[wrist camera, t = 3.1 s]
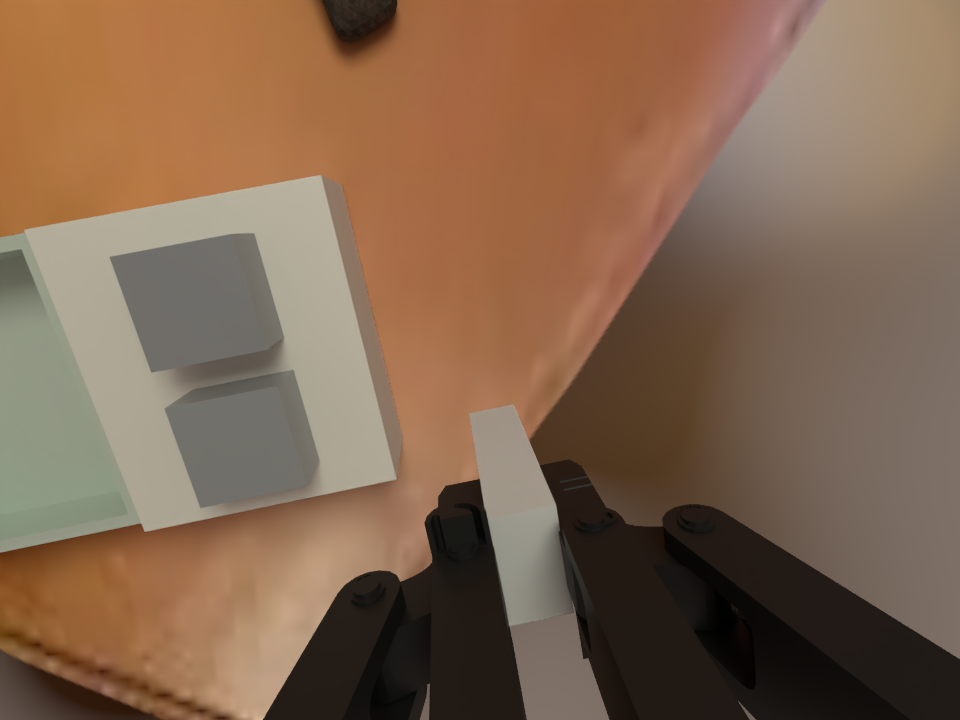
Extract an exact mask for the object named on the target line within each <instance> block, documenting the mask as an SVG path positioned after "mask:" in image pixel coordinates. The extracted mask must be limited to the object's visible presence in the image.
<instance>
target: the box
mask: <svg viewBox="0 0 960 720" xmlns="http://www.w3.org/2000/svg"><path fill="white" fill-rule="evenodd" d="M136 524H141V521H140V519H139V516H138V514H137V511H136V509H135V506H134V504H133V501H132V499H131V496H130V494H129V491H128V489H127V486H126V484H125V481H124V479H123V476H122V474H121V471H120V469H119V466H118V464H117V461H116V459H115V456H114V454H113V451H112V449H111V446H110V444H109V441H108V439H107V436H106V434H105V431H104V429H103V426H102V424H101V421H100V419H99V416H98V414H97V411H96V409H95V406H94V404H93V401H92V399H91V396H90V394H89V391H88V389H87V386H86V384H85V381H84V379H83V376H82V374H81V371H80V369H79V366H78V364H77V361H76V359H75V356H74V354H73V351H72V349H71V346H70V344H69V341H68V339H67V336H66V334H65V331H64V329H63V326H62V324H61V321H60V319H59V316H58V314H57V311H56V309H55V306H54V304H53V301H52V299H51V296H50V293H49V291H48V288H47V286H46V283H45V281H44V278H43V276H42V273H41V271H40V268H39V266H38V263H37V261H36V258H35V256H34V253H33V251H32V248H31V246H30V243H29V241H28V238H27V236H26V233H21V234H16V235H11V236H5V237H0V553H1V552H6V551H10V550H15V549H20V548H25V547H30V546H35V545H39V544H44V543H49V542H54V541H59V540H64V539H68V538H73V537H78V536H83V535H88V534H92V533H97V532H102V531H107V530H112V529H117V528H121V527H126V526H131V525H136Z"/></svg>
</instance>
